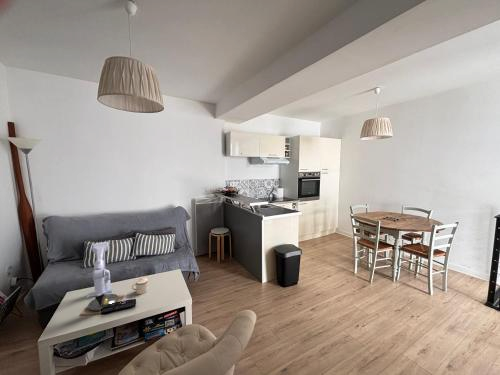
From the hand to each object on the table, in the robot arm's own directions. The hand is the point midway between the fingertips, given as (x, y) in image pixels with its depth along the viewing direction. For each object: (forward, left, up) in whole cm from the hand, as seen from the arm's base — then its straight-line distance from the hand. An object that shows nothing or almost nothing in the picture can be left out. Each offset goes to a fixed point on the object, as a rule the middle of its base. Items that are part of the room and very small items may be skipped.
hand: (100, 304), depth 146 cm
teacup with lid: (-22, +18, -5) cm, 29 cm away
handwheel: (-7, -2, -4) cm, 8 cm away
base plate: (-7, -2, -5) cm, 8 cm away
